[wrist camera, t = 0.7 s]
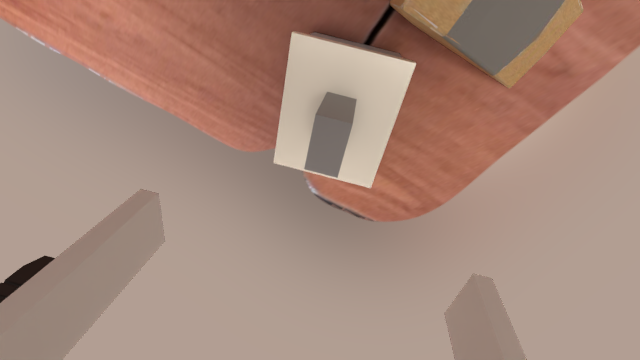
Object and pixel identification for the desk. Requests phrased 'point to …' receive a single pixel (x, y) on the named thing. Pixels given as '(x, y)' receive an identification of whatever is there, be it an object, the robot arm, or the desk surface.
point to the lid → (339, 108)
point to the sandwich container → (494, 30)
